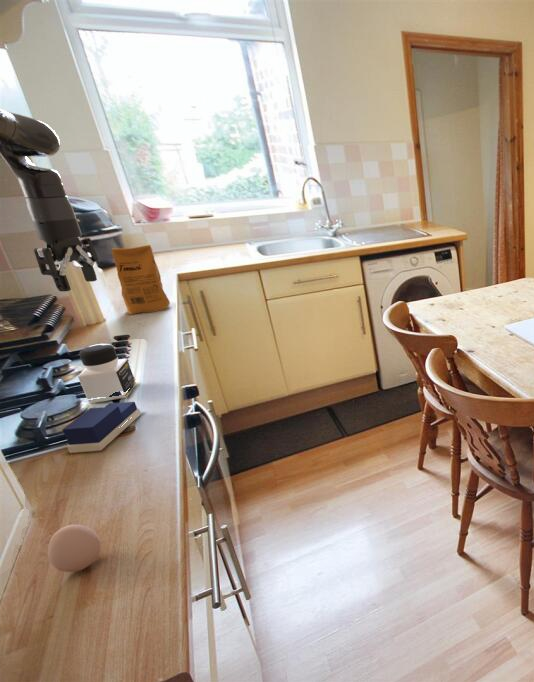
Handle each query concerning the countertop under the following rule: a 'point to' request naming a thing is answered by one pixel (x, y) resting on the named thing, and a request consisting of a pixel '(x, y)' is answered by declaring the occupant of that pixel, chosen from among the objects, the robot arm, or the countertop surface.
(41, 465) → the countertop surface
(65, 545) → the egg
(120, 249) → the coffee package
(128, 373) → the medicine bottle
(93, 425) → the navy and white sponge
